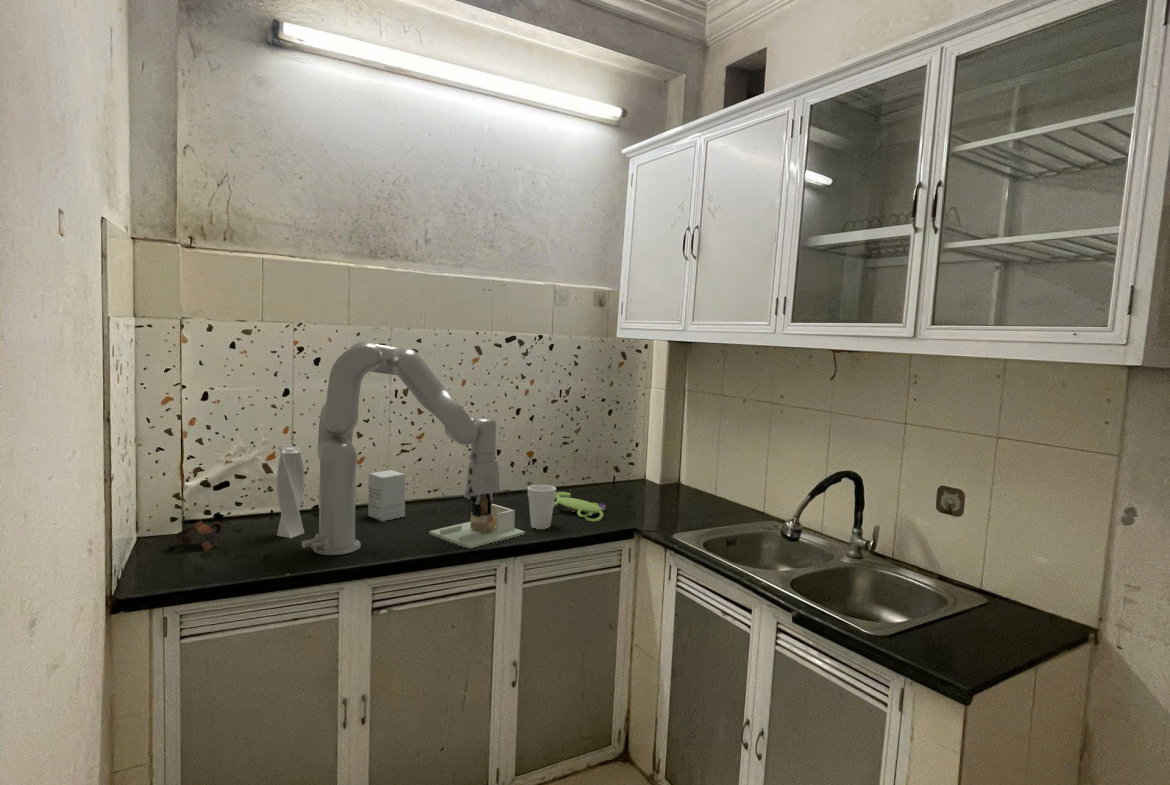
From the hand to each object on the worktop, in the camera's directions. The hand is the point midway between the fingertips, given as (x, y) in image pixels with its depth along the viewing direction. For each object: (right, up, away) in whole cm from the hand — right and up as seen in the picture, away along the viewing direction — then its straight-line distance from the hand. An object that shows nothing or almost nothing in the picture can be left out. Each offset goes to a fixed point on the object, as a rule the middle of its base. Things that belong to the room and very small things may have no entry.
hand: (481, 514), depth 200 cm
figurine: (+28, -6, +31) cm, 42 cm away
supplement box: (-35, -4, +15) cm, 38 cm away
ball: (+2, -3, +3) cm, 5 cm away
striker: (0, -5, 0) cm, 5 cm away
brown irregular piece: (-76, -5, -21) cm, 79 cm away
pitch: (-1, -6, -1) cm, 6 cm away
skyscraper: (-57, -5, -8) cm, 57 cm away
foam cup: (+18, -6, +11) cm, 22 cm away
